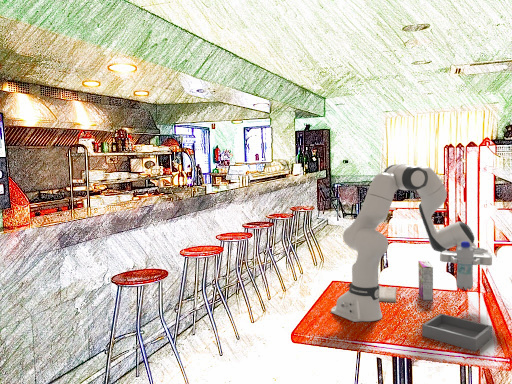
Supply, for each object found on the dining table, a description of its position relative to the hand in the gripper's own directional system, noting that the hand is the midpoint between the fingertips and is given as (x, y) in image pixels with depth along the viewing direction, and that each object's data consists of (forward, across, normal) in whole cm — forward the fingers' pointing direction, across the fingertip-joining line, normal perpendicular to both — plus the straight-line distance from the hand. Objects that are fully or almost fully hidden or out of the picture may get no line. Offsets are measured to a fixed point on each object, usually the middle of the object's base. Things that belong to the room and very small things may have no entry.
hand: (465, 262), depth 189 cm
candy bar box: (-24, -18, +25) cm, 39 cm away
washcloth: (-19, -36, +26) cm, 48 cm away
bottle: (-1, 0, +12) cm, 12 cm away
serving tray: (+20, -2, +25) cm, 31 cm away
